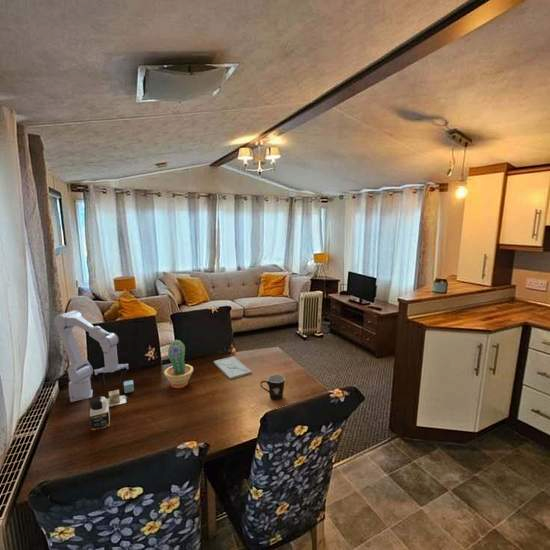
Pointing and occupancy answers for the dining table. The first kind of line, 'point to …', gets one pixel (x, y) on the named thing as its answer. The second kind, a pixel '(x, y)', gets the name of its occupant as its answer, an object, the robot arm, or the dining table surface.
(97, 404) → the medicine bottle
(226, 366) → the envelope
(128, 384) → the slate cube
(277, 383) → the coffee mug
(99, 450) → the dining table surface
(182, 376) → the potted cactus
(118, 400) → the oak block
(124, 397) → the letter
